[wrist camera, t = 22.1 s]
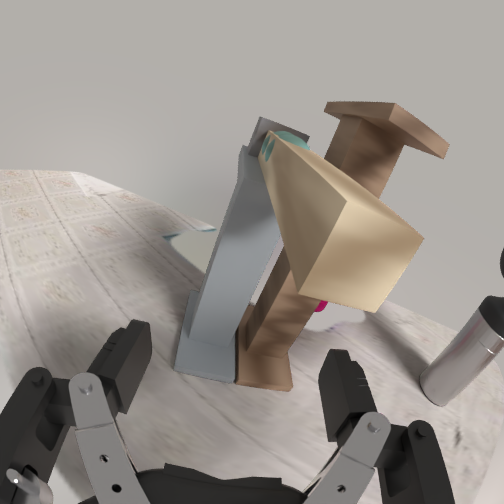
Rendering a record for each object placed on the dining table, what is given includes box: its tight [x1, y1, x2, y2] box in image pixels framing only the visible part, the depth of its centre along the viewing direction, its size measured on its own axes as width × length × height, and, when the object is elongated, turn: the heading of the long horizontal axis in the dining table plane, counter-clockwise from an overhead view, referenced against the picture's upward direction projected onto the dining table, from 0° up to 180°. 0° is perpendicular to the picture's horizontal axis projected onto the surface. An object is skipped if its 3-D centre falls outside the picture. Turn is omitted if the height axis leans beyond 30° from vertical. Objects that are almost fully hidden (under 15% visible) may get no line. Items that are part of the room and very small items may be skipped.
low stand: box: [173, 145, 281, 383], centre depth 30 cm, size 7×16×23 cm, turn 2°
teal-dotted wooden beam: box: [247, 117, 424, 313], centre depth 18 cm, size 5×25×4 cm, turn 2°
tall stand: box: [236, 102, 449, 392], centre depth 29 cm, size 7×16×32 cm, turn 2°
